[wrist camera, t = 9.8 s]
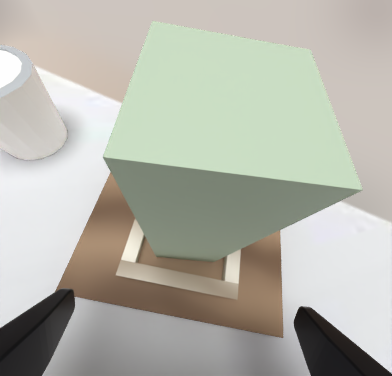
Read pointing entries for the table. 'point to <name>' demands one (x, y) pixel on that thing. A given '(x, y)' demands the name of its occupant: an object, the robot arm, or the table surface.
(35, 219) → the table surface
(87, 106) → the table surface
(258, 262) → the base board
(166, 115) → the pillar
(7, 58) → the white cylinder
